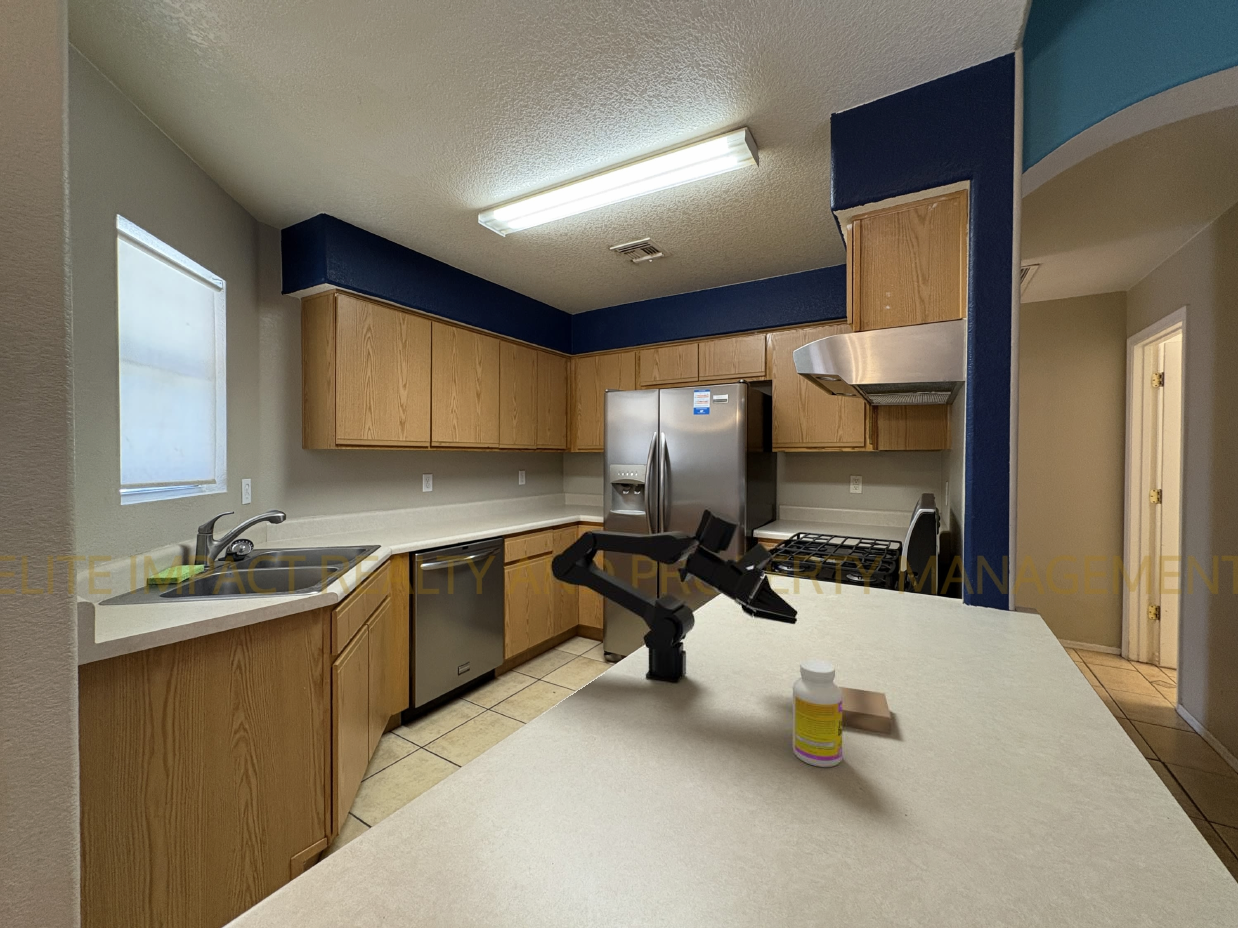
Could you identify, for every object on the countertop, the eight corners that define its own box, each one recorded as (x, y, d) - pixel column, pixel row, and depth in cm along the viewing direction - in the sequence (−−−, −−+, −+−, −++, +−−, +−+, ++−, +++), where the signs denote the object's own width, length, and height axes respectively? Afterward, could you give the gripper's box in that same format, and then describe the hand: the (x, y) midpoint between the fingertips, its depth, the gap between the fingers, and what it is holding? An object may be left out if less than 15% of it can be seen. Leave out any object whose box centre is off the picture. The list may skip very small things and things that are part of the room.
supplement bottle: (847, 771, 71) (847, 677, 71) (795, 766, 72) (796, 673, 72) (836, 745, 77) (837, 658, 77) (789, 740, 79) (790, 655, 78)
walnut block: (827, 722, 84) (828, 707, 84) (827, 698, 92) (827, 684, 92) (890, 733, 80) (890, 717, 80) (884, 707, 89) (884, 693, 89)
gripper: (733, 521, 91) (820, 567, 84) (742, 548, 107) (815, 587, 100) (701, 576, 88) (787, 628, 82) (715, 595, 105) (788, 639, 98)
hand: (796, 618), depth 90 cm, fingers open, 9 cm apart
